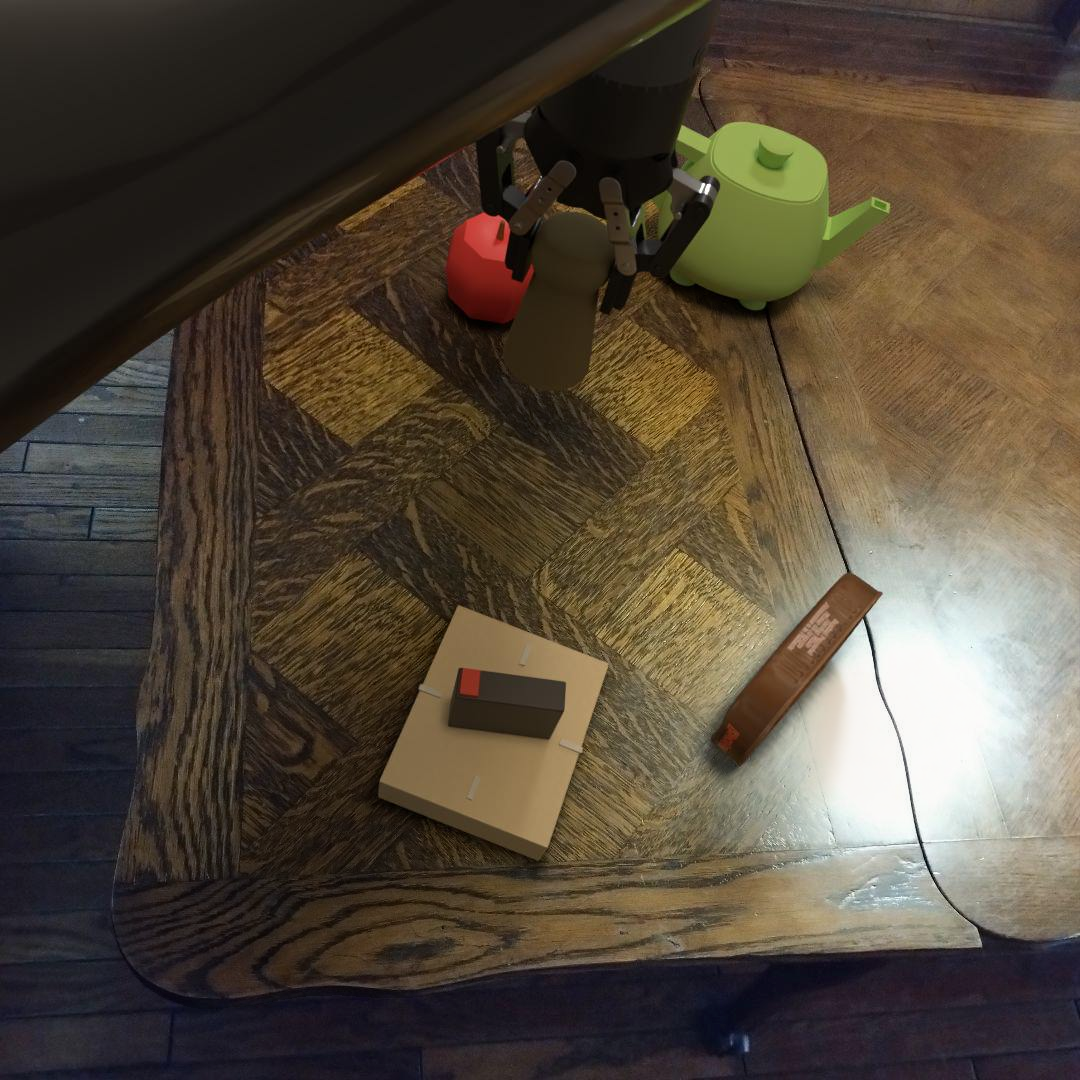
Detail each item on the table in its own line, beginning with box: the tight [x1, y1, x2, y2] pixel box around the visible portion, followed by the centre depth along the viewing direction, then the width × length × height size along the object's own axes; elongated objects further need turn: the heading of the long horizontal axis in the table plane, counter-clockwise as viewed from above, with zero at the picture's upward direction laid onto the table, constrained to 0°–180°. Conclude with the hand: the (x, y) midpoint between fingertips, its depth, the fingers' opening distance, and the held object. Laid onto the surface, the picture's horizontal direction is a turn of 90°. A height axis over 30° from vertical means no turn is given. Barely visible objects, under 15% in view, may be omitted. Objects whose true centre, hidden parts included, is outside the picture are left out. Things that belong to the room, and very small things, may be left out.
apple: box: [445, 211, 534, 324], centre depth 75 cm, size 8×8×8 cm
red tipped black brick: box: [448, 668, 566, 739], centre depth 55 cm, size 6×2×5 cm, turn 86°
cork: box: [502, 211, 616, 392], centre depth 62 cm, size 6×6×11 cm
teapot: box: [650, 121, 891, 311], centre depth 80 cm, size 20×13×13 cm
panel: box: [377, 604, 610, 861], centre depth 59 cm, size 12×10×3 cm
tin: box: [710, 572, 884, 768], centre depth 61 cm, size 15×3×8 cm, turn 137°
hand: (564, 288), depth 62 cm, fingers closed on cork, 5 cm apart
